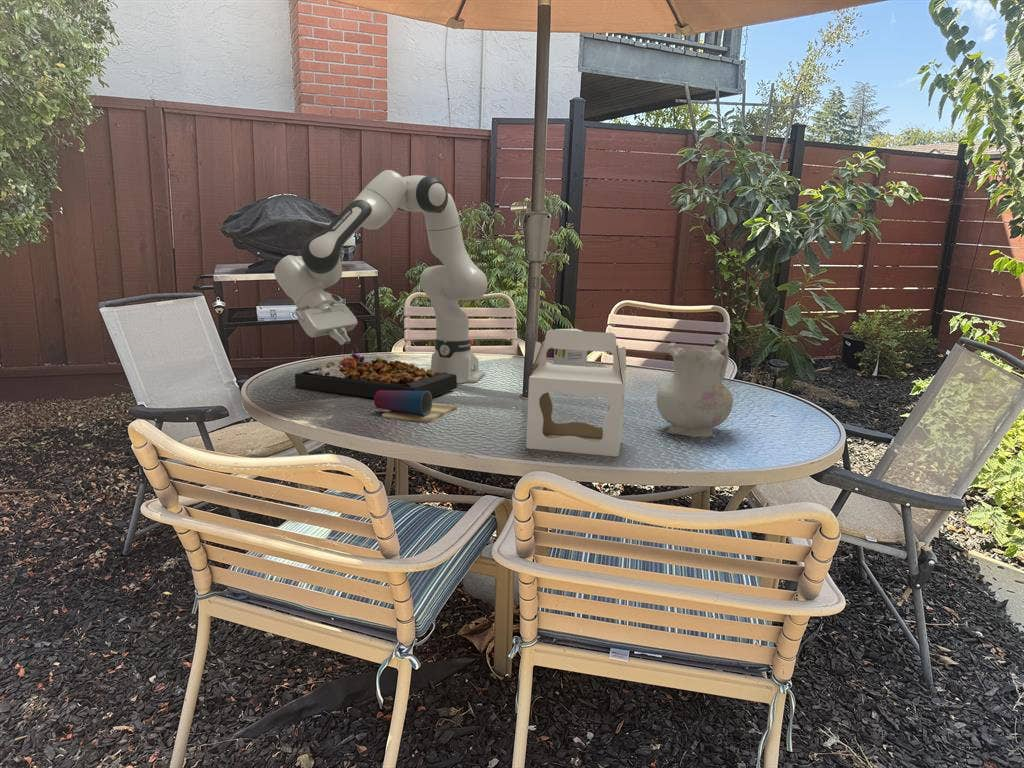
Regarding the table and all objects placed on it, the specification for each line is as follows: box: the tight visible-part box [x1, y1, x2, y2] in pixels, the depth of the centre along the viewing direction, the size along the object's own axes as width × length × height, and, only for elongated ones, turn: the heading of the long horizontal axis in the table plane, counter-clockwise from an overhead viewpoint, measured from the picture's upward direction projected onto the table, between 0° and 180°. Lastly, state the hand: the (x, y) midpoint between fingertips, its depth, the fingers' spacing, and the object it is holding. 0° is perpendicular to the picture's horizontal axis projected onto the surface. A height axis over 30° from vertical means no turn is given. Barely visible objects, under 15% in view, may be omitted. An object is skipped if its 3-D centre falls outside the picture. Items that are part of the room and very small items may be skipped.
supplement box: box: [553, 328, 588, 367], centre depth 255 cm, size 10×9×17 cm
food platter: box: [294, 348, 458, 399], centre depth 222 cm, size 45×25×10 cm, turn 65°
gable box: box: [525, 329, 627, 458], centre depth 167 cm, size 22×13×28 cm, turn 78°
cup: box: [373, 390, 433, 416], centre depth 191 cm, size 7×7×15 cm
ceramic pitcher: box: [656, 337, 734, 439], centre depth 183 cm, size 22×20×25 cm
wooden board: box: [381, 402, 458, 424], centre depth 195 cm, size 18×14×1 cm
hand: (346, 343), depth 194 cm, fingers closed
